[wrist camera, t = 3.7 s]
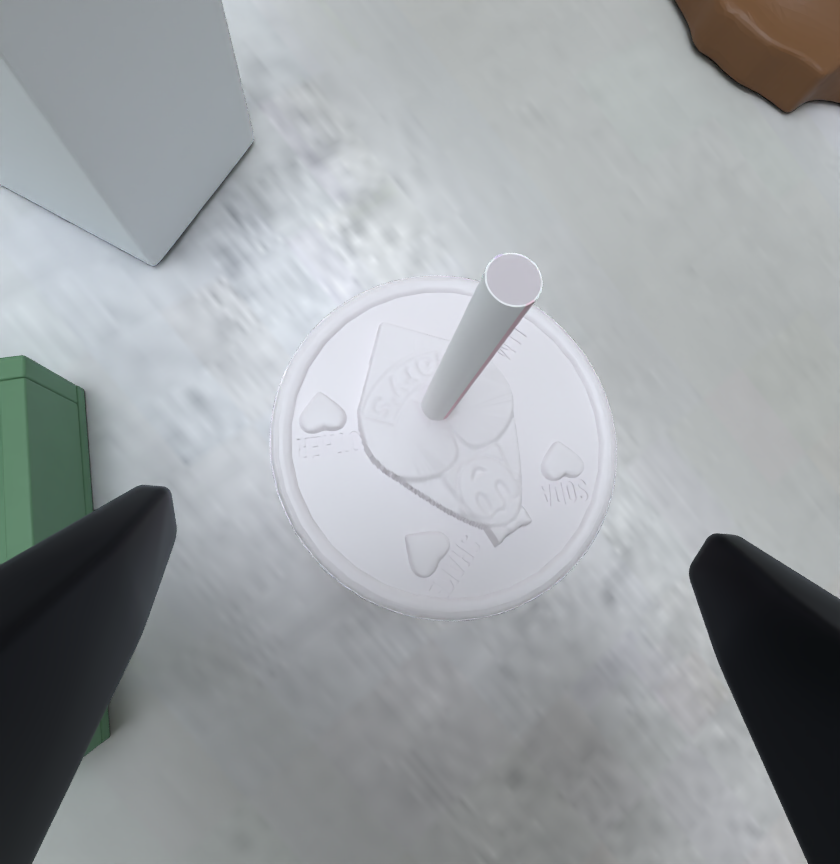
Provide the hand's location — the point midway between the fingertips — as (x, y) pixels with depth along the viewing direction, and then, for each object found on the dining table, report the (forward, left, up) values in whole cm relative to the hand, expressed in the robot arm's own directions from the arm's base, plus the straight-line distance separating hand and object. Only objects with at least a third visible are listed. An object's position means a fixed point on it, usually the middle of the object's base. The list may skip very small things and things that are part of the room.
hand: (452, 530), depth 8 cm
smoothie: (+2, 0, -10) cm, 10 cm away
